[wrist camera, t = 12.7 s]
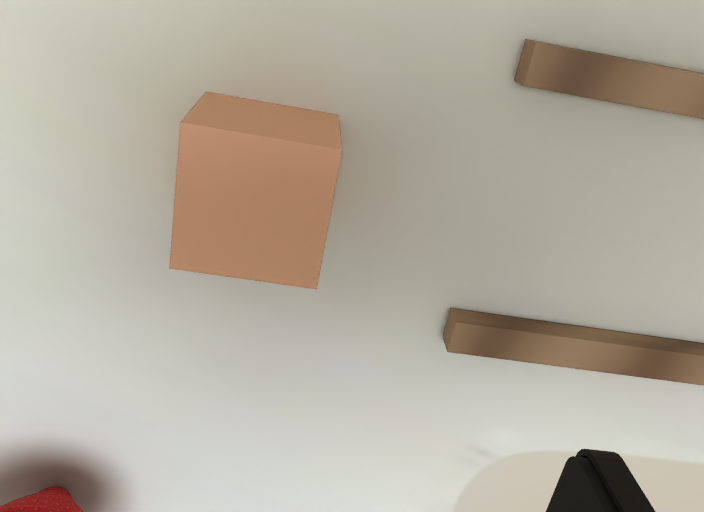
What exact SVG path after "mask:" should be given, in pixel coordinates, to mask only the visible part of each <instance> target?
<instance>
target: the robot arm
mask: <svg viewBox="0 0 704 512" xmlns="http://www.w3.org/2000/svg"><path fill="white" fill-rule="evenodd" d="M546 512H655V511H654V509H653V507H652V506H651V504H650V502H649V501H648V499H647V498H646V496H645V494H644V493H643V491H642V490H641V488H640V486H639V485H638V483H637V482H636V480H635V478H634V477H633V475H632V474H631V472H630V471H629V469H628V467H627V466H626V464H625V462H624V461H623V459H622V458H621V457H620V455H619V454H617V453H615V452H608V451H599V450H590V449H581V450H580V451H579V452H578V453H577V455H576V457H574V456H573V457H570V458H569V459H568V460H567V462H566V464H565V466H564V469H563V471H562V474H561V476H560V478H559V481H558V483H557V486H556V488H555V491H554V493H553V496H552V498H551V501H550V503H549V505H548V508H547V510H546Z"/></svg>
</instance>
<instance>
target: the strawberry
mask: <svg viewBox="0 0 704 512" xmlns="http://www.w3.org/2000/svg"><path fill="white" fill-rule="evenodd" d="M0 512H83V511H82V510H81V509H80V508H79V507H78V506H77V505H76V504H75V502H74V501H73V500H72V497H71V495H70V494H69V492H68V491H67V490H65V489H63V488H60V487H50V488H47V489H44V490H42V491H40V492H38V493H36V494H33V495H30V496H26V497H23V498H20V499H17V500H14V501H12V502H10V503H8V504H5V505H3V506H1V507H0Z"/></svg>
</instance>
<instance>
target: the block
mask: <svg viewBox="0 0 704 512" xmlns="http://www.w3.org/2000/svg"><path fill="white" fill-rule="evenodd" d="M341 154H342V144H341V135H340V127H339V119H338V115H336V114H330V113H324V112H319V111H313V110H307V109H302V108H296V107H290V106H285V105H279V104H273V103H267V102H262V101H256V100H250V99H245V98H239V97H233V96H228V95H222V94H216V93H211V92H206V93H205V94H204V95H203V96H202V97H201V99H200V100H199V101H198V102H197V103H196V104H195V106H194V107H193V108H192V109H191V110H190V112H189V113H188V114H187V115H186V116H185V117H184V119H183V120H182V121H181V122H180V134H179V148H178V161H177V174H176V187H175V201H174V214H173V227H172V241H171V254H170V267H169V268H171V269H178V270H185V271H192V272H199V273H206V274H213V275H220V276H227V277H235V278H242V279H249V280H256V281H263V282H270V283H277V284H284V285H291V286H298V287H305V288H312V289H317V285H318V279H319V274H320V268H321V263H322V257H323V252H324V246H325V241H326V236H327V230H328V225H329V219H330V214H331V208H332V203H333V197H334V192H335V186H336V181H337V176H338V170H339V165H340V159H341Z"/></svg>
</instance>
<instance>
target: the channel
mask: <svg viewBox="0 0 704 512" xmlns="http://www.w3.org/2000/svg"><path fill="white" fill-rule="evenodd" d="M515 81H517V82H518V83H520V84H522V85H523V86H527V87H533V88H538V89H544V90H549V91H555V92H560V93H565V94H571V95H576V96H582V97H587V98H593V99H598V100H604V101H609V102H614V103H620V104H625V105H631V106H636V107H642V108H647V109H653V110H658V111H664V112H669V113H674V114H680V115H685V116H691V117H696V118H702V119H704V73H699V72H694V71H688V70H683V69H678V68H673V67H668V66H662V65H657V64H652V63H647V62H642V61H636V60H631V59H626V58H621V57H616V56H610V55H605V54H600V53H595V52H590V51H585V50H579V49H574V48H569V47H564V46H559V45H553V44H548V43H543V42H538V41H533V40H527V39H526V41H525V45H524V48H523V52H522V55H521V59H520V63H519V66H518V70H517V73H516V77H515ZM443 340H444V343H445V346H446V349H447V352H452V353H460V354H468V355H475V356H483V357H491V358H498V359H506V360H514V361H521V362H529V363H537V364H544V365H552V366H560V367H567V368H575V369H583V370H590V371H598V372H606V373H613V374H621V375H628V376H636V377H644V378H651V379H659V380H667V381H674V382H682V383H690V384H697V385H704V344H703V343H696V342H689V341H682V340H675V339H667V338H660V337H653V336H646V335H639V334H631V333H624V332H617V331H610V330H603V329H595V328H588V327H581V326H574V325H567V324H559V323H552V322H545V321H538V320H531V319H523V318H516V317H509V316H502V315H495V314H487V313H480V312H473V311H466V310H459V309H450V313H449V316H448V320H447V323H446V327H445V331H444V334H443Z"/></svg>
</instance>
